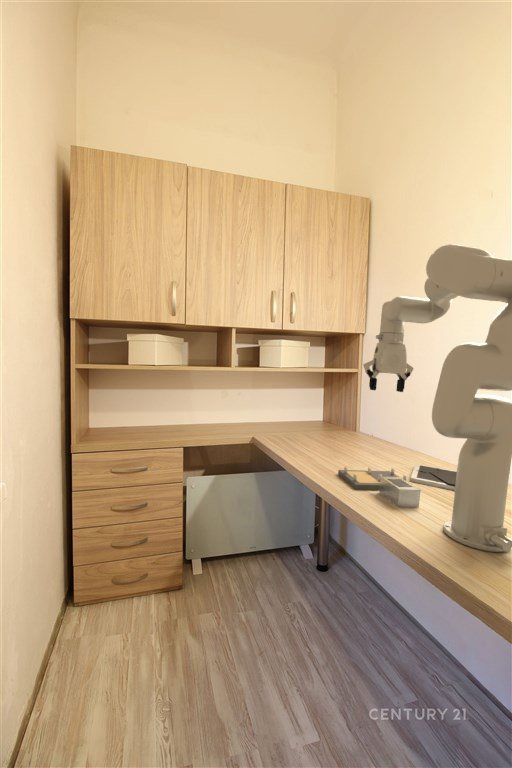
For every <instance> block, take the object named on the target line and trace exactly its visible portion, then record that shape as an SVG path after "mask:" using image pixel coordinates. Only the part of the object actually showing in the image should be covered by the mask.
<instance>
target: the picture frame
mask: <svg viewBox="0 0 512 768" xmlns="http://www.w3.org/2000/svg"><path fill="white" fill-rule="evenodd" d="M411 472H412V473H411V474H410V478H409V479H410V480H409V481H410V482H411V483H416V484H420V485H426V486H430V487H435V488H440V489H444V490H450V491H454V492H455V485H456V476H457V470H454V469H453V470H452V469H447V468H443V467H437V466H431V465H426V464H420V463H415V465H414V466H413V470H412V471H411ZM410 482H409V483H410Z"/></svg>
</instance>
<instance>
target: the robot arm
mask: <svg viewBox="0 0 512 768" xmlns="http://www.w3.org/2000/svg"><path fill="white" fill-rule="evenodd" d="M425 267H426V269H425V271H426V275H427V279H426V280H425V282H424V285H423V286H424V287H423V288H424V293H425V295H426V297H427V298H421V297H413V296H412V297H409V296H404V295H403V296H400V295H399V296H395V297H394V298H393V299H391V300H388V301H386V302H384V303H383V304H382V306H381V313H380V317H381V318H380V325H379V326H380V328H379V334H376V335H375V340H376V339H377V340H378V342H377V343H376V345H375V349H374V353H373V358H372V360H370V361H367V362H366V363H365V362H364V363H363V368H364V370H365V373H366V375H367V376H368V378H369V386H368V387H369V390H370V391H376V390H377V384H378V383H377V382H378V379H377V376H378V375H380V374H394V375H396V376H397V378H398V379H397V381H396V392H398V393H404V389H405V384H406V383H405V382H406V381H407V379H408V378H409V377H410V376H411V374H412V372H413V371H414V367H413V366H412V365H410V364H409V363H407V361H408V360H407V359H408V358H407V346H406V343H405V344H404V336H405V327H406V323H414V324H415V323H416V324H428V323H432V322H434V321H436V320H438V319H440V318H442V317H443V316H445V315H446V314H447V312H448V311H449V309H450V308H451V305H452V303H453V299H455V298H457V297H461V298H466V299H470V300H481V301H490V302H501V303H506V305H505V306H504V307H502V309H500V311H498V312H497V314H496V315H495V316H494V317H493V319H492V320H491V323H490V326H489V328H488V333H487V336H486V339H485V341H484V343H479V342H465V343H461V344H458V345H456V346H455V347H453V348H452V349H451V350H450V352H449V353H448V354H447V356H446V358H445V359H444V362H443V365H442V366H441V371H440V374H439V375H440V376H439V378H438V379H439V380H438V383H437V388H436V392H435V396H434V399H433V404H432V409H431V422H432V424H433V425H432V426H433V428H434V429H435V431H436V432H437V433H438V434H439V435H440V436H443V437H446V438H450V439H451V438H452V439H463V440H464V439H465V441H464V443H463V444H462V447H461V449H460V451H459V455H458V459H457V466H456V467H457V468H456V471H457V476H456V485H455V491H454V494H453V495H454V497H453V506H452V514H451V519H449V520H446V521H445V522H444V523H443V525H442V529H443V531H444V533H445V534H446V535H447V536H448V537H449V538H451V539H452V540H454V541H456V542H458V543H460V544H463V545H464V546H468V547H471V548H473V549H477V550H481V551H485V552H494V553H503V552H505V553H507V552H509V551H511V549H512V538H510V537H508V536H507V533H508V527H506V526H504V522H505V514H506V513H505V512H506V503H507V497H508V489H509V479H510V472H511V466H512V465H511V464H512V400H510V399H508V398H506V397H504V396H503V397H502V396H498V395H491V394H490V395H489V394H479V393H477V392H478V391H479V390H480V391H491V392H493V391H494V392H495V391H496V392H509V391H512V259H511V258H510V259H509V258H501V257H494V256H493V255H492V254H491V253H490V252H489V251H488V250H485V249H482V248H479V247H474V246H473V247H472V246H465V245H460V244H450V243H449V244H444V245H442V246H439V247H438V248H437V249H435V250H434V251H433V252H432V253H431V255H430V257H428V260H427V262H426V266H425ZM371 366H372V369H371V368H370V367H371Z"/></svg>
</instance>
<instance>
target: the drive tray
mask: <svg viewBox="0 0 512 768" xmlns="http://www.w3.org/2000/svg"><path fill="white" fill-rule="evenodd" d="M343 468H344V469H338V472H337V475H338V476H339V477H340V478H342V479H343V480H344V481H345V482H346V483H347V484H348V485H350V486H351V487H352V488H353V489H355V491H379V489H380V478H381V477H400V476H398V475H397V474H395V471H396V470H395V469H396V468H394V467H392V468H391V469H390V470H391V471H390V470H372V467H370V466H369V467H367V470H362V469H361V470H357V469H356V470H355V469H354V470H353V469H352V470H351V469H348V466H344V467H343ZM407 477H408V475H406V474H403V475H402V479H404V480H405V481H407Z"/></svg>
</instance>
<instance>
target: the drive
mask: <svg viewBox="0 0 512 768" xmlns="http://www.w3.org/2000/svg"><path fill="white" fill-rule="evenodd" d="M421 491H422V490H421V489H420V488H419V487H416V486H415V485H413V484H411V483H410V482H408V481H407V480H406V481H405V480H404V479H403V477H400V476H399V477H381V478H380V489H379V490H378V493H379V494H380V495H381V494H382V495H381V496H383V498H385V497H386V498H387V500H388V501H389V500H390V501H391V502H390V501H389V502H390V503H391V504H393V503H394V504H395V506H396V507H397V508H419V507H420V500H421ZM386 498H385V499H386ZM394 504H393V505H394Z"/></svg>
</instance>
